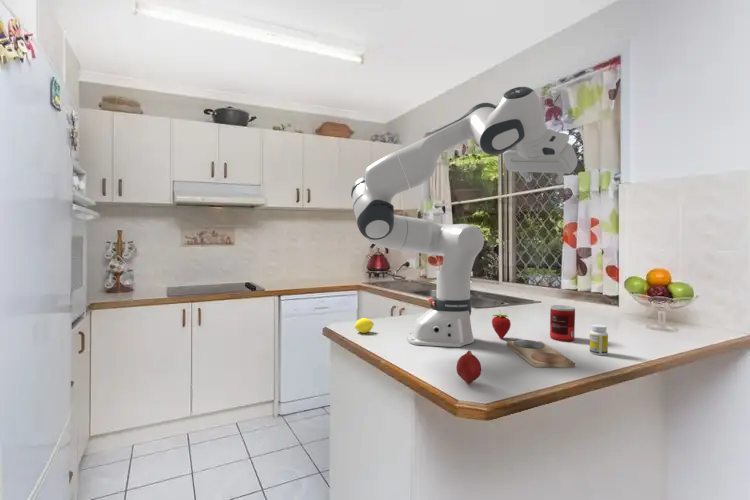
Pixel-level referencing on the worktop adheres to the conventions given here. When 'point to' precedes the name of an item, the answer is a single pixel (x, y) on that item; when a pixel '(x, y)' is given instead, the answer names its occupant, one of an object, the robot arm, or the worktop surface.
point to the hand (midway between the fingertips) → (544, 181)
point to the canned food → (562, 323)
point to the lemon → (364, 325)
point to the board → (540, 354)
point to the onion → (468, 367)
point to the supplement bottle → (598, 340)
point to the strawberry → (501, 325)
